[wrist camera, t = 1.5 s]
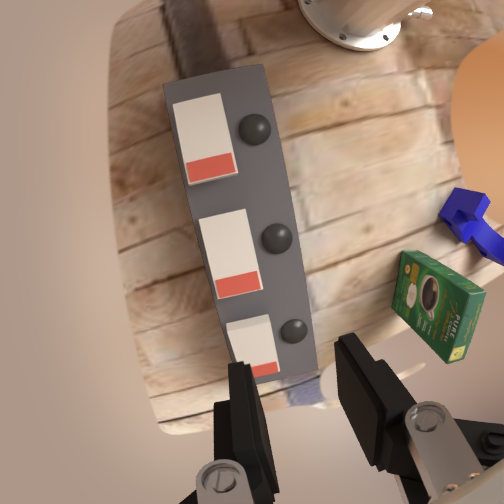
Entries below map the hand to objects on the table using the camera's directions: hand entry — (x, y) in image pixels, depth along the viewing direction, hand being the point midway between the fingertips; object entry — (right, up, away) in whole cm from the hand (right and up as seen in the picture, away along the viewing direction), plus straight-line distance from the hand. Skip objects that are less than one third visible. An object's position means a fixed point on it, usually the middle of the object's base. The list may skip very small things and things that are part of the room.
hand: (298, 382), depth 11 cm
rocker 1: (-6, +14, +15) cm, 21 cm away
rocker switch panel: (-2, +6, +22) cm, 23 cm away
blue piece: (+28, +8, +25) cm, 38 cm away
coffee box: (+17, +1, +26) cm, 31 cm away
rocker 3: (-1, -4, +21) cm, 21 cm away
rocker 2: (-4, +5, +18) cm, 19 cm away
